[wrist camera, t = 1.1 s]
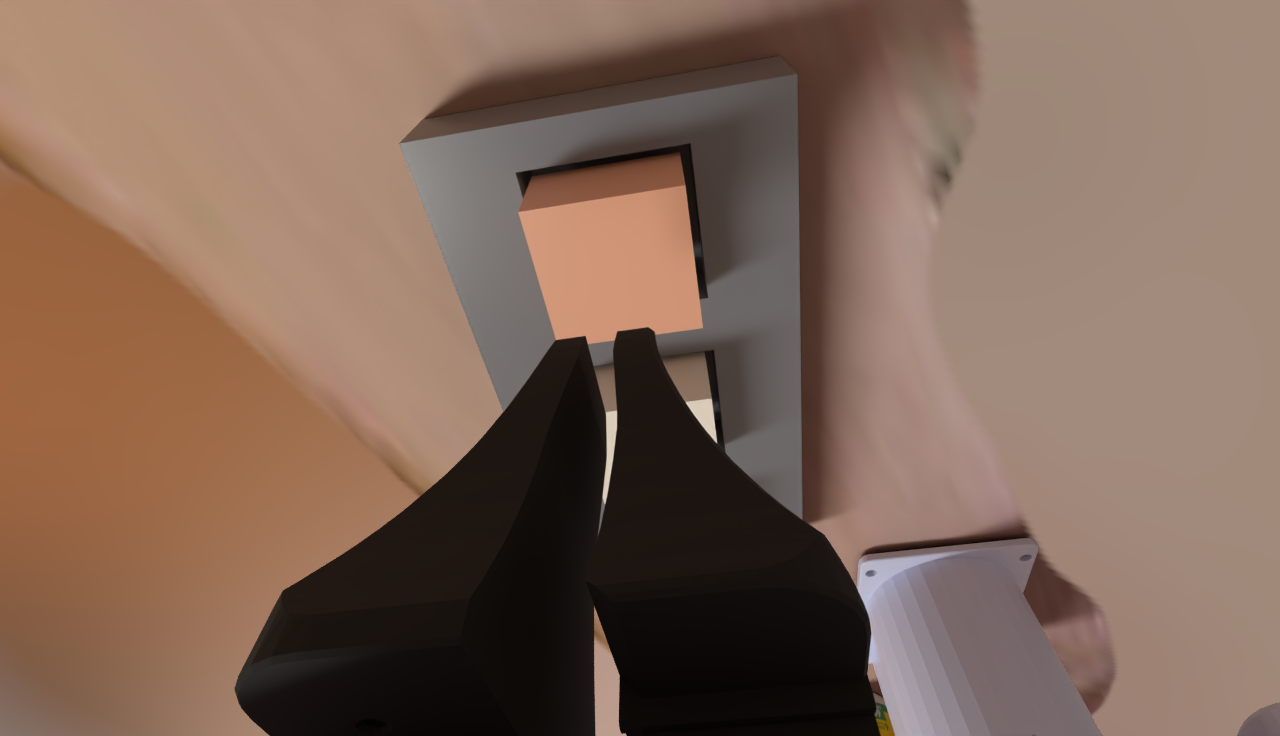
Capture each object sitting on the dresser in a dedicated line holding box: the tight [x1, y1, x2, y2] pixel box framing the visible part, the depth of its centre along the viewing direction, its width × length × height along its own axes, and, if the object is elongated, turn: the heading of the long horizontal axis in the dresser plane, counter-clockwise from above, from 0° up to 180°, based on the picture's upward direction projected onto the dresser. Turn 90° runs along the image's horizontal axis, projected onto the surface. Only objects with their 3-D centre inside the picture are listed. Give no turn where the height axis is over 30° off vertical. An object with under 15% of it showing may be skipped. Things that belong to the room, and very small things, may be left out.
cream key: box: [594, 351, 717, 504], centre depth 21 cm, size 4×4×2 cm
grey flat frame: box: [399, 56, 802, 534], centre depth 22 cm, size 20×10×2 cm, turn 9°
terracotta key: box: [518, 152, 703, 344], centre depth 17 cm, size 4×4×2 cm
